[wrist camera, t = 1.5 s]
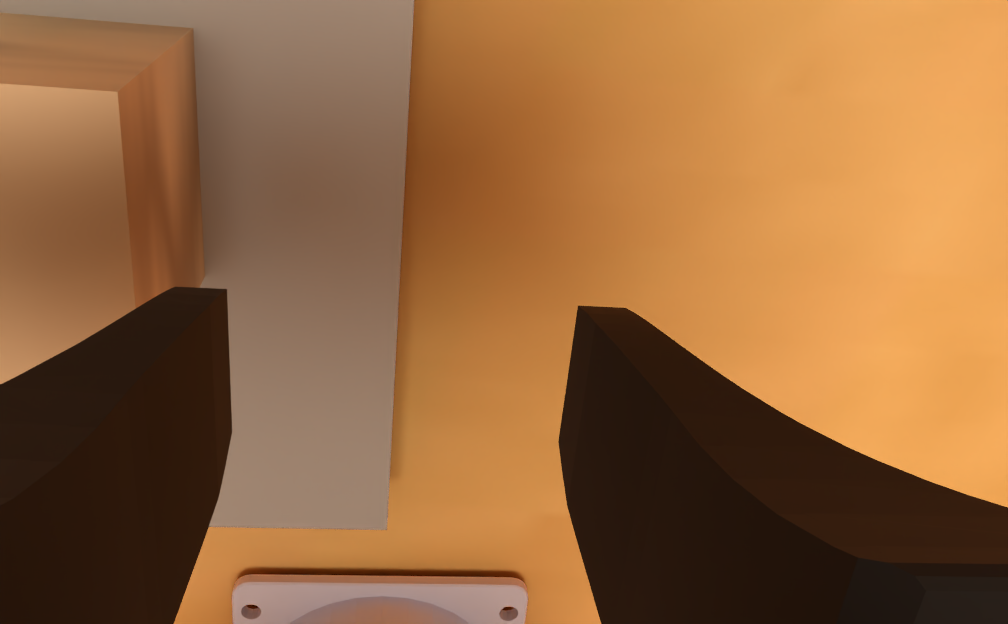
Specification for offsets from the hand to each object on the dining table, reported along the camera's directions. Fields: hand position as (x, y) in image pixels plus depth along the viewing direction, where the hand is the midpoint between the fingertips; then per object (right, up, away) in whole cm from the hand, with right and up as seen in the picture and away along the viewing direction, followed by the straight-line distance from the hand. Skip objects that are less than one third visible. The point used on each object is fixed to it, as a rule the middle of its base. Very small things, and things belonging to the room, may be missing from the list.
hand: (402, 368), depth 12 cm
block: (-7, +4, +6) cm, 10 cm away
